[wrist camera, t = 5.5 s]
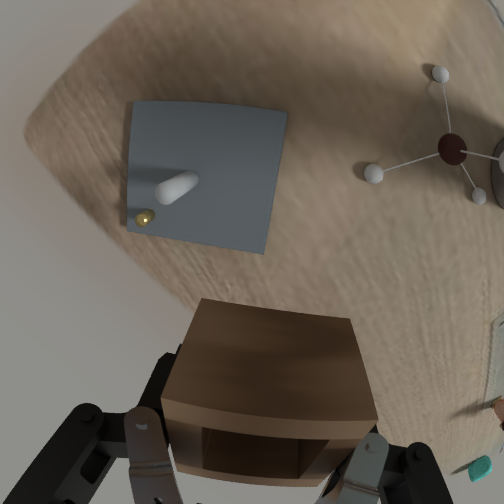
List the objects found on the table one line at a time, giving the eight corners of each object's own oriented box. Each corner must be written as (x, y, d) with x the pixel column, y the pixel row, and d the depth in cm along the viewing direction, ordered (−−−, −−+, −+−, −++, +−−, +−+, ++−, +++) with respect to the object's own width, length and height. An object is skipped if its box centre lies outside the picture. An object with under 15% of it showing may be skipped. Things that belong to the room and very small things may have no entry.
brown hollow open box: (349, 318, 11) (378, 420, 6) (291, 444, 15) (289, 509, 11) (201, 298, 11) (160, 397, 6) (200, 432, 16) (184, 496, 11)
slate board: (287, 113, 22) (290, 105, 16) (264, 249, 28) (259, 287, 21) (139, 101, 23) (97, 96, 16) (132, 227, 28) (95, 255, 22)
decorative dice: (466, 468, 55) (471, 484, 48) (470, 463, 53) (475, 479, 45) (484, 459, 53) (488, 474, 46) (488, 453, 51) (493, 468, 43)
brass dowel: (155, 209, 26) (146, 215, 24) (154, 221, 26) (146, 228, 24) (144, 207, 26) (134, 213, 24) (144, 219, 26) (134, 226, 24)
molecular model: (358, 174, 24) (416, 210, 13) (432, 63, 18) (512, 40, 7) (442, 250, 26) (505, 313, 15) (505, 151, 20) (582, 174, 9)
